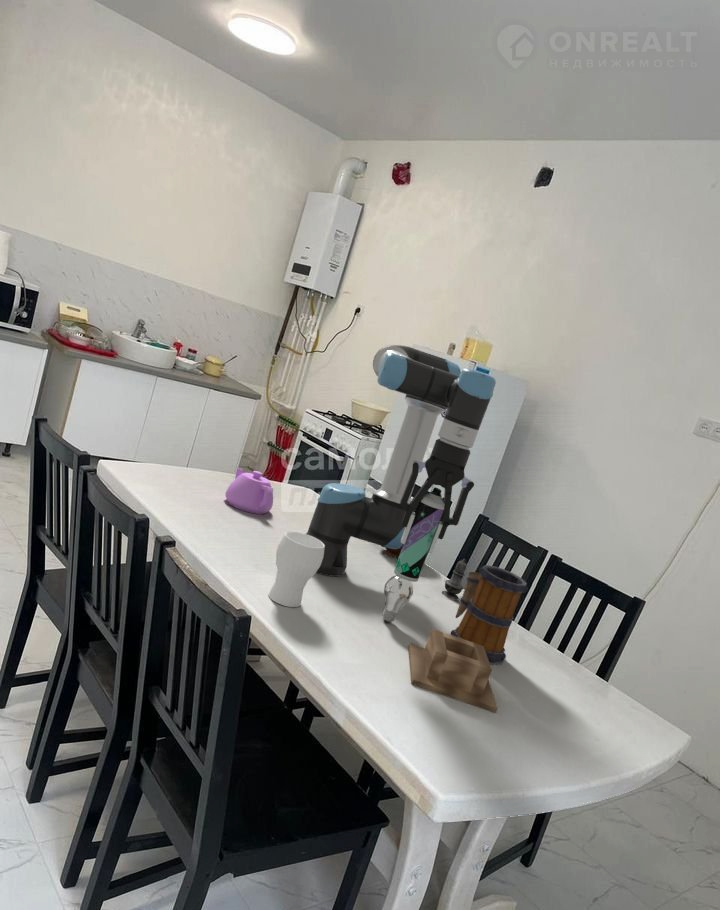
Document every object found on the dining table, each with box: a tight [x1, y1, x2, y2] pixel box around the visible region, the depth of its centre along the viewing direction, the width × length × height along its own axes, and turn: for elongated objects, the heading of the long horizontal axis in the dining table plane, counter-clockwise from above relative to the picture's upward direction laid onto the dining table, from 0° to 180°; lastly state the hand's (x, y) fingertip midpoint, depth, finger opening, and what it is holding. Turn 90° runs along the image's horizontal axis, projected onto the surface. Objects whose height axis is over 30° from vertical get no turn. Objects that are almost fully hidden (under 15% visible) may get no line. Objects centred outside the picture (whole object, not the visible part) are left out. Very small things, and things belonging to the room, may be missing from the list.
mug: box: [450, 564, 529, 666], centre depth 170 cm, size 19×14×20 cm
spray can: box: [393, 486, 445, 583], centre depth 146 cm, size 6×6×20 cm
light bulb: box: [381, 574, 414, 624], centre depth 166 cm, size 7×7×12 cm
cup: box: [268, 530, 325, 608], centre depth 158 cm, size 11×11×15 cm
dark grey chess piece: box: [441, 558, 468, 601], centre depth 204 cm, size 6×6×12 cm
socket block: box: [407, 628, 499, 714], centre depth 147 cm, size 18×18×7 cm
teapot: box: [225, 467, 274, 515], centre depth 224 cm, size 22×16×12 cm
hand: (416, 546), depth 146 cm, fingers closed on spray can, 5 cm apart
